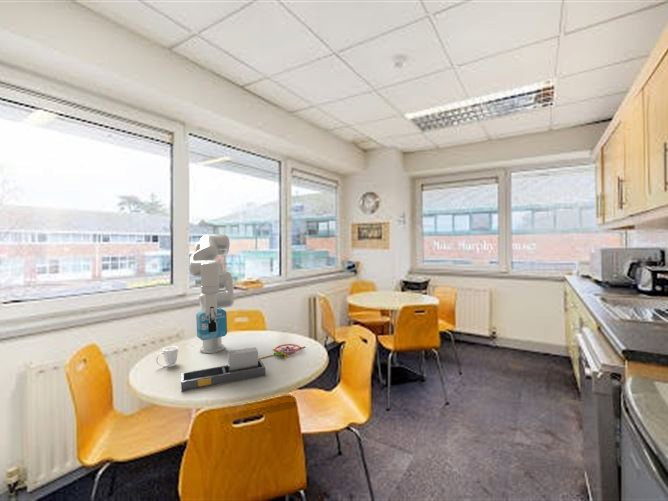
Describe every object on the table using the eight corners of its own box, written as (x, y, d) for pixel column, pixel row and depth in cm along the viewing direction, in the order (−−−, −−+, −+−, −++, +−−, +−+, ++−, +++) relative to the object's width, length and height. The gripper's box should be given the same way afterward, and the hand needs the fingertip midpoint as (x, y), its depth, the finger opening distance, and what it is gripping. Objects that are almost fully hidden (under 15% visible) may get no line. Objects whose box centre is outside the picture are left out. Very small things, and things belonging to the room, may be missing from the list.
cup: (181, 364, 161) (181, 348, 161) (159, 371, 154) (158, 353, 153) (175, 361, 166) (174, 344, 166) (153, 367, 159) (153, 350, 158)
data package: (200, 341, 146) (199, 313, 145) (197, 338, 150) (195, 312, 149) (227, 335, 153) (226, 309, 153) (223, 333, 157) (222, 307, 156)
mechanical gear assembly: (312, 351, 177) (297, 345, 189) (312, 343, 177) (297, 338, 189) (260, 366, 158) (246, 358, 170) (260, 357, 158) (246, 350, 170)
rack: (181, 381, 142) (180, 356, 142) (260, 367, 156) (260, 344, 155) (181, 392, 133) (180, 365, 132) (265, 376, 146) (265, 351, 146)
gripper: (200, 287, 156) (201, 326, 158) (202, 293, 141) (204, 336, 142) (217, 286, 160) (218, 324, 161) (221, 292, 144) (222, 334, 145)
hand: (211, 329), depth 151 cm, fingers closed on data package, 5 cm apart
